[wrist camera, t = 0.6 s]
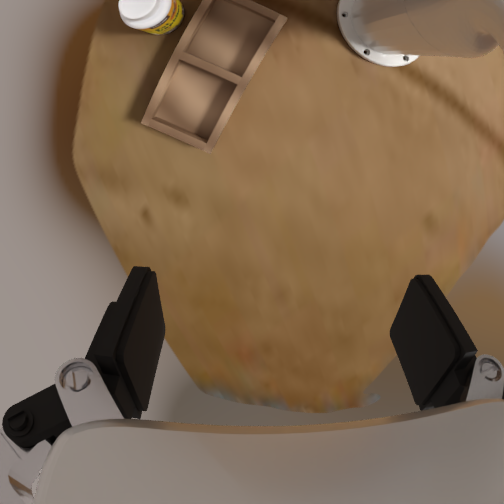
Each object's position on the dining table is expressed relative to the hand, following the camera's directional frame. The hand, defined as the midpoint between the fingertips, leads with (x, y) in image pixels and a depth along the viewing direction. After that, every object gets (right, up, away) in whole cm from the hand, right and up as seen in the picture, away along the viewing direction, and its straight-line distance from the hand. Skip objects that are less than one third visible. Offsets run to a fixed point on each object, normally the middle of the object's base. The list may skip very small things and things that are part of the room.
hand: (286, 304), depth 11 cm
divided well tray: (-6, +24, +22) cm, 34 cm away
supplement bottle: (-12, +31, +18) cm, 38 cm away
